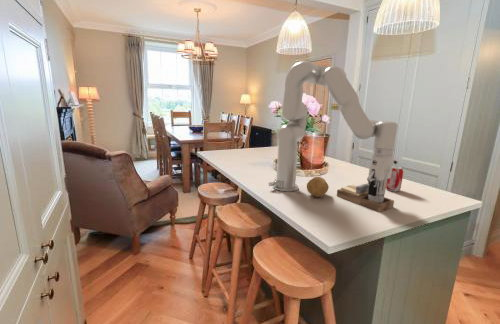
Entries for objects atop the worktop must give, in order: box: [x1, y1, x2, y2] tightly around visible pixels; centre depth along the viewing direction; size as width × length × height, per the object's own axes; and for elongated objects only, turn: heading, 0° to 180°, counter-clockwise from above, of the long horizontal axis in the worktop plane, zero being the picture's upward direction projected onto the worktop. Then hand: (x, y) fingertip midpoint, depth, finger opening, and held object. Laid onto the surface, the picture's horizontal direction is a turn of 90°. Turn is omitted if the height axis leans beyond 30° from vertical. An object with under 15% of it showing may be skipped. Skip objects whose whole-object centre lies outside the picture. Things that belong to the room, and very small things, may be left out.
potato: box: [306, 176, 330, 198], centre depth 120 cm, size 10×14×8 cm
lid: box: [340, 183, 369, 196], centre depth 118 cm, size 9×9×4 cm
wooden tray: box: [336, 188, 395, 213], centre depth 115 cm, size 10×21×3 cm, turn 34°
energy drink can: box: [368, 173, 388, 204], centre depth 109 cm, size 6×6×15 cm
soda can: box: [385, 165, 404, 193], centre depth 131 cm, size 7×7×12 cm
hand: (376, 193), depth 110 cm, fingers closed on energy drink can, 6 cm apart
